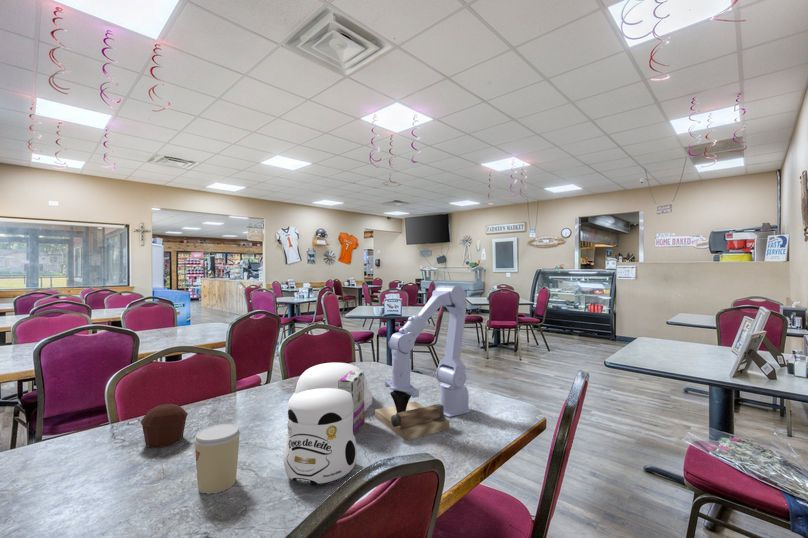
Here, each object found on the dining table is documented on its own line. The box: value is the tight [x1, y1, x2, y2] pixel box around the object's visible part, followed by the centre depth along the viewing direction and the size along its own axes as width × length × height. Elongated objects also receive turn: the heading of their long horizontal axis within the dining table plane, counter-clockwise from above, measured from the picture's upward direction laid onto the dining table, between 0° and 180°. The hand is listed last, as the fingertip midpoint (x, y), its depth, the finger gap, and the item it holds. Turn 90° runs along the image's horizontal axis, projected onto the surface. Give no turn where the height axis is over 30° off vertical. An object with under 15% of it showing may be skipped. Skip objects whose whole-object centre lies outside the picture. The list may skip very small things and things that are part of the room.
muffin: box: [140, 403, 189, 449], centre depth 105 cm, size 12×11×10 cm
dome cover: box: [292, 362, 373, 412], centre depth 136 cm, size 32×30×14 cm
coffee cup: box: [193, 423, 241, 495], centre depth 83 cm, size 9×9×12 cm
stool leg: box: [391, 403, 445, 427], centre depth 111 cm, size 18×3×3 cm, turn 120°
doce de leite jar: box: [282, 388, 358, 487], centre depth 88 cm, size 17×17×18 cm
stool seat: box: [374, 401, 450, 441], centre depth 117 cm, size 16×20×3 cm
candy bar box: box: [338, 370, 365, 435], centre depth 113 cm, size 11×5×16 cm, turn 168°
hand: (401, 414), depth 115 cm, fingers closed
